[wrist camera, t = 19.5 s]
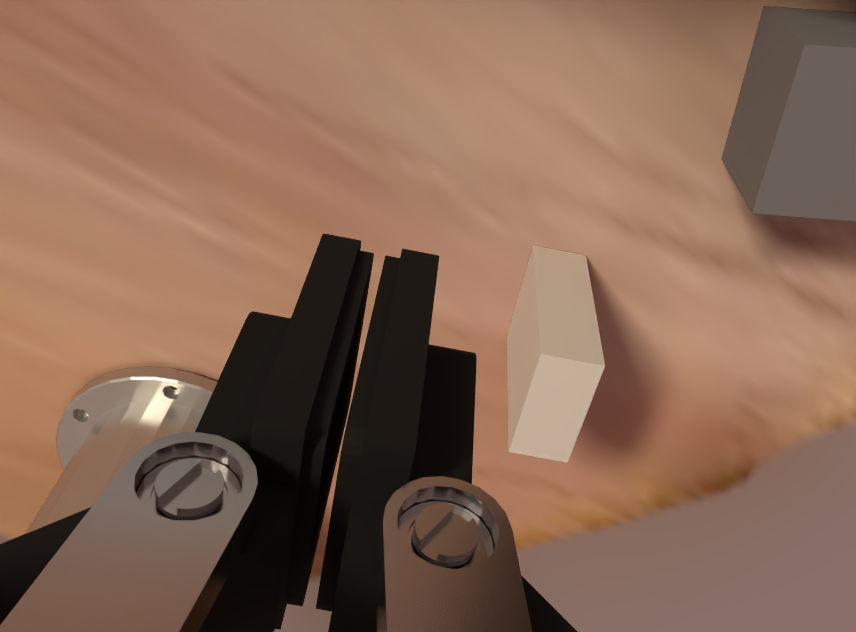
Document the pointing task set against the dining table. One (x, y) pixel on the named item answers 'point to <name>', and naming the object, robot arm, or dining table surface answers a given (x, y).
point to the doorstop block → (798, 116)
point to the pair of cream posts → (552, 355)
